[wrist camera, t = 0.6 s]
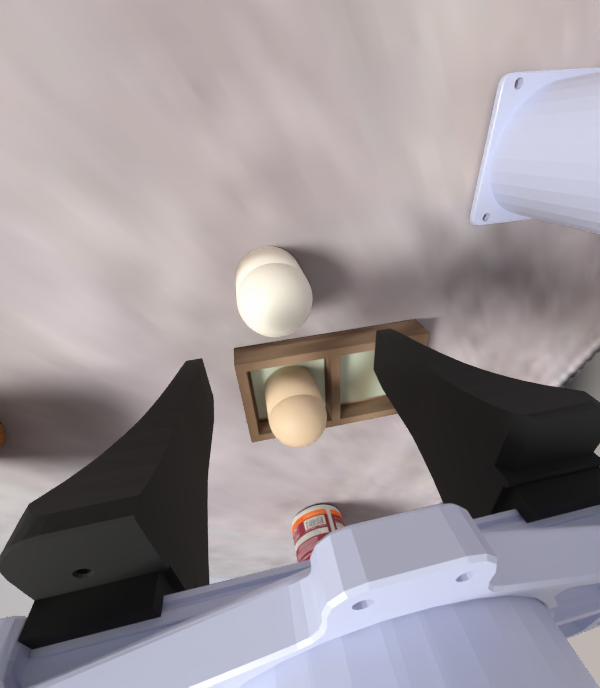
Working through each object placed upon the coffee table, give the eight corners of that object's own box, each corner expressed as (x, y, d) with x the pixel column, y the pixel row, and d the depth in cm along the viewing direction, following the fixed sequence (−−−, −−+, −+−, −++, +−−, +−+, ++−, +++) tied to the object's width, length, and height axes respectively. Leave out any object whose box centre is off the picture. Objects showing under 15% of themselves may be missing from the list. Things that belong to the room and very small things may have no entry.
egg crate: (415, 319, 25) (429, 332, 24) (403, 393, 30) (415, 410, 28) (233, 348, 24) (234, 365, 22) (250, 422, 28) (251, 442, 26)
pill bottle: (282, 530, 39) (300, 654, 29) (304, 500, 36) (331, 625, 27) (325, 532, 41) (354, 648, 32) (349, 504, 38) (388, 621, 29)
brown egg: (314, 361, 25) (333, 410, 20) (316, 400, 27) (334, 453, 22) (260, 370, 24) (268, 423, 20) (267, 409, 26) (275, 465, 22)
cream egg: (298, 242, 20) (319, 271, 16) (302, 303, 23) (322, 344, 18) (229, 250, 20) (230, 283, 15) (241, 312, 22) (245, 357, 18)
